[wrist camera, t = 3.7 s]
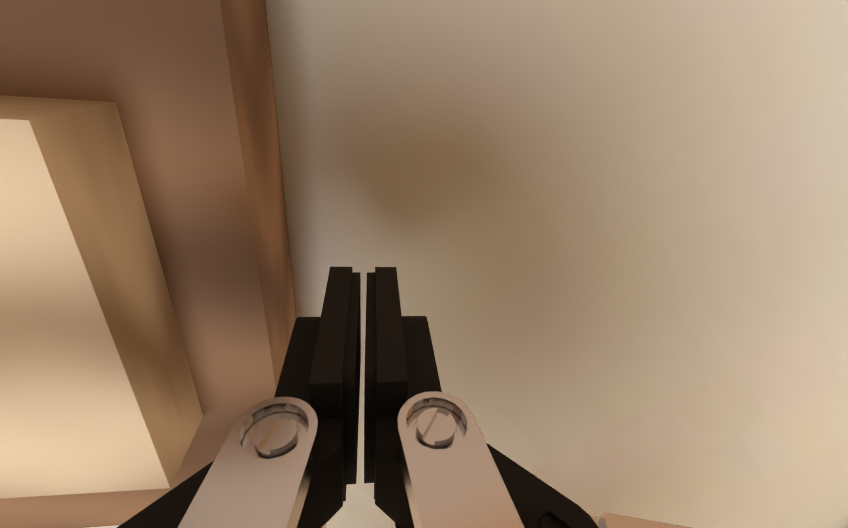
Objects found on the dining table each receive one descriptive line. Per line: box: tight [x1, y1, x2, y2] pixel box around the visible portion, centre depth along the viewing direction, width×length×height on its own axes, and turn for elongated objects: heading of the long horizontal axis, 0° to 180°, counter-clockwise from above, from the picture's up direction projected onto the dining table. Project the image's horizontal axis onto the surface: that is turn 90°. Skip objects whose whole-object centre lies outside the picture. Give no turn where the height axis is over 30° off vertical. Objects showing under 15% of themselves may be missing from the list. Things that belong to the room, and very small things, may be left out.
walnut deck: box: [0, 0, 296, 528], centre depth 12 cm, size 22×14×4 cm, turn 175°
